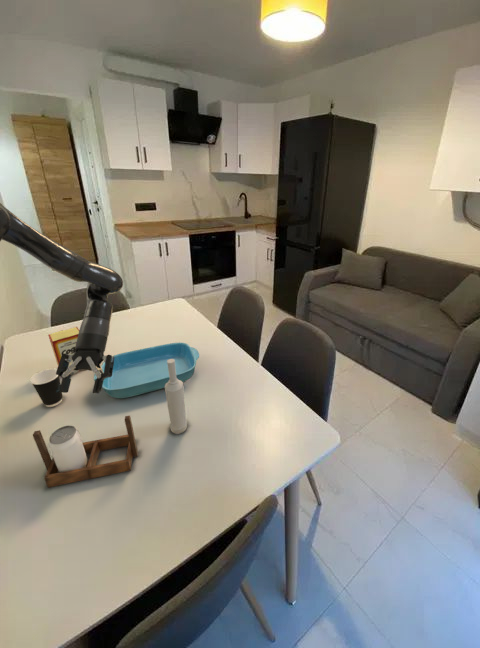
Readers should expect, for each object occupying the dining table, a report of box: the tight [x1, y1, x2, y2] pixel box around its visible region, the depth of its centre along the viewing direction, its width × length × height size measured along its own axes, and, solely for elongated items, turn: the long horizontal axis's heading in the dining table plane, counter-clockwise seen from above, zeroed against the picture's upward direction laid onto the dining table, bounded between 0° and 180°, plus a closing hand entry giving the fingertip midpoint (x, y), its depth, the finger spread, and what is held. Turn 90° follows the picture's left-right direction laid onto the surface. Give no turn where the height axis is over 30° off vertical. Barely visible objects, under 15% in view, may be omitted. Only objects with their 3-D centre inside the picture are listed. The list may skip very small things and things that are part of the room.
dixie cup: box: [29, 367, 63, 408], centre depth 96 cm, size 8×8×11 cm
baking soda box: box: [48, 326, 82, 372], centre depth 112 cm, size 10×6×16 cm
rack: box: [32, 415, 139, 488], centre depth 75 cm, size 22×9×14 cm, turn 105°
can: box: [48, 425, 89, 473], centre depth 75 cm, size 6×6×12 cm
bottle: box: [164, 359, 188, 435], centre depth 85 cm, size 5×5×25 cm
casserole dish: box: [93, 342, 200, 399], centre depth 110 cm, size 37×22×7 cm, turn 115°
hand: (80, 392), depth 79 cm, fingers open, 8 cm apart
